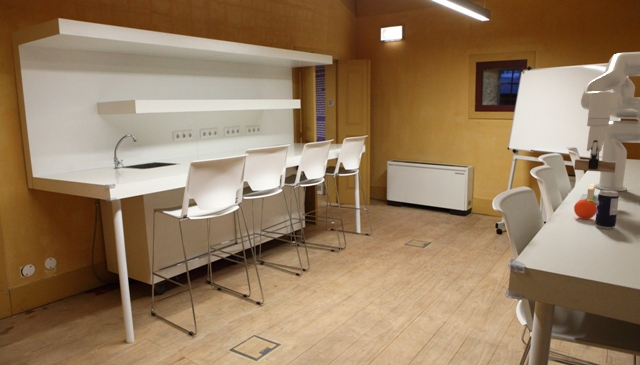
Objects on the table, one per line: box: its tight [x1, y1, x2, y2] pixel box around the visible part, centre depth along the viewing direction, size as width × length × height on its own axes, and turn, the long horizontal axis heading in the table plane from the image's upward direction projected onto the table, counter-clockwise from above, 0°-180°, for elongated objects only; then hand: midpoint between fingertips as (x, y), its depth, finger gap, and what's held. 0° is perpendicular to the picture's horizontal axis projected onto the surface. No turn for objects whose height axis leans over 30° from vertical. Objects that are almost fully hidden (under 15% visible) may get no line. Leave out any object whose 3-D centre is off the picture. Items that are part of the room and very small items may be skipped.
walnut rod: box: [573, 158, 616, 173], centre depth 186 cm, size 4×14×4 cm, turn 56°
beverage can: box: [594, 189, 620, 230], centre depth 149 cm, size 6×6×12 cm
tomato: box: [573, 199, 597, 220], centre depth 161 cm, size 8×7×7 cm
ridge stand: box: [578, 183, 598, 207], centre depth 190 cm, size 18×7×6 cm, turn 146°
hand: (593, 168), depth 186 cm, fingers closed on walnut rod, 4 cm apart
